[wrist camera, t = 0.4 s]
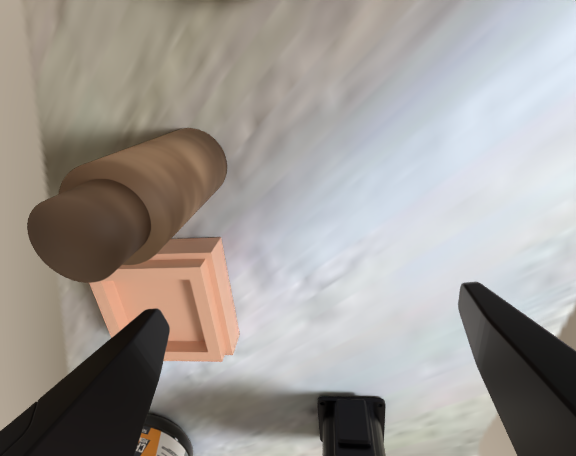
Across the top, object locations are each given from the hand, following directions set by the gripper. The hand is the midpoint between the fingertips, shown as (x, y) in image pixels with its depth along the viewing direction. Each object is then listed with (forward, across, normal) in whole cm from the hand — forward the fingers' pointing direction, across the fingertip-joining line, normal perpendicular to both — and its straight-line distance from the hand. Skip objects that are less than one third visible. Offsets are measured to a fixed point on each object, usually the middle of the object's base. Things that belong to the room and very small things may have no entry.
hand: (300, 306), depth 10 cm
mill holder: (+13, +14, +11) cm, 22 cm away
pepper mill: (+15, +9, 0) cm, 17 cm away
